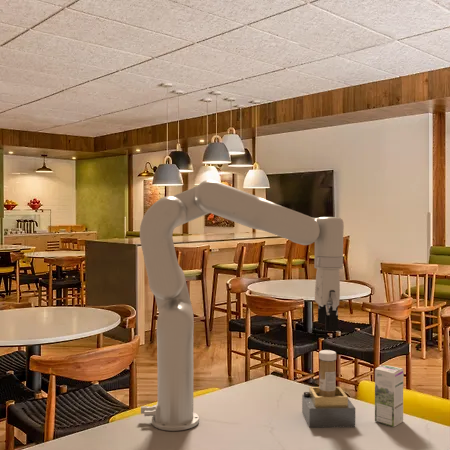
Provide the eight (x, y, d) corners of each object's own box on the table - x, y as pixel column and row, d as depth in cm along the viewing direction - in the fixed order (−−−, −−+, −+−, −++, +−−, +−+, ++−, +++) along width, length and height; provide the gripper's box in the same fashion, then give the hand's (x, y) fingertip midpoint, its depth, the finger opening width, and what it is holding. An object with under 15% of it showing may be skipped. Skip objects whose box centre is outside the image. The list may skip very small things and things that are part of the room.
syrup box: (403, 421, 147) (404, 367, 147) (393, 427, 143) (394, 372, 142) (384, 416, 151) (384, 363, 150) (373, 422, 146) (374, 368, 146)
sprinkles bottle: (316, 398, 150) (317, 349, 150) (333, 398, 150) (333, 349, 150) (321, 404, 145) (321, 354, 145) (338, 403, 146) (338, 353, 146)
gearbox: (309, 427, 142) (309, 399, 142) (302, 412, 153) (302, 385, 153) (355, 427, 143) (355, 398, 143) (344, 411, 154) (345, 385, 154)
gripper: (308, 260, 156) (307, 320, 156) (321, 265, 138) (320, 333, 139) (335, 260, 156) (333, 320, 156) (350, 266, 139) (349, 333, 139)
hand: (327, 326), depth 148 cm, fingers open, 9 cm apart
